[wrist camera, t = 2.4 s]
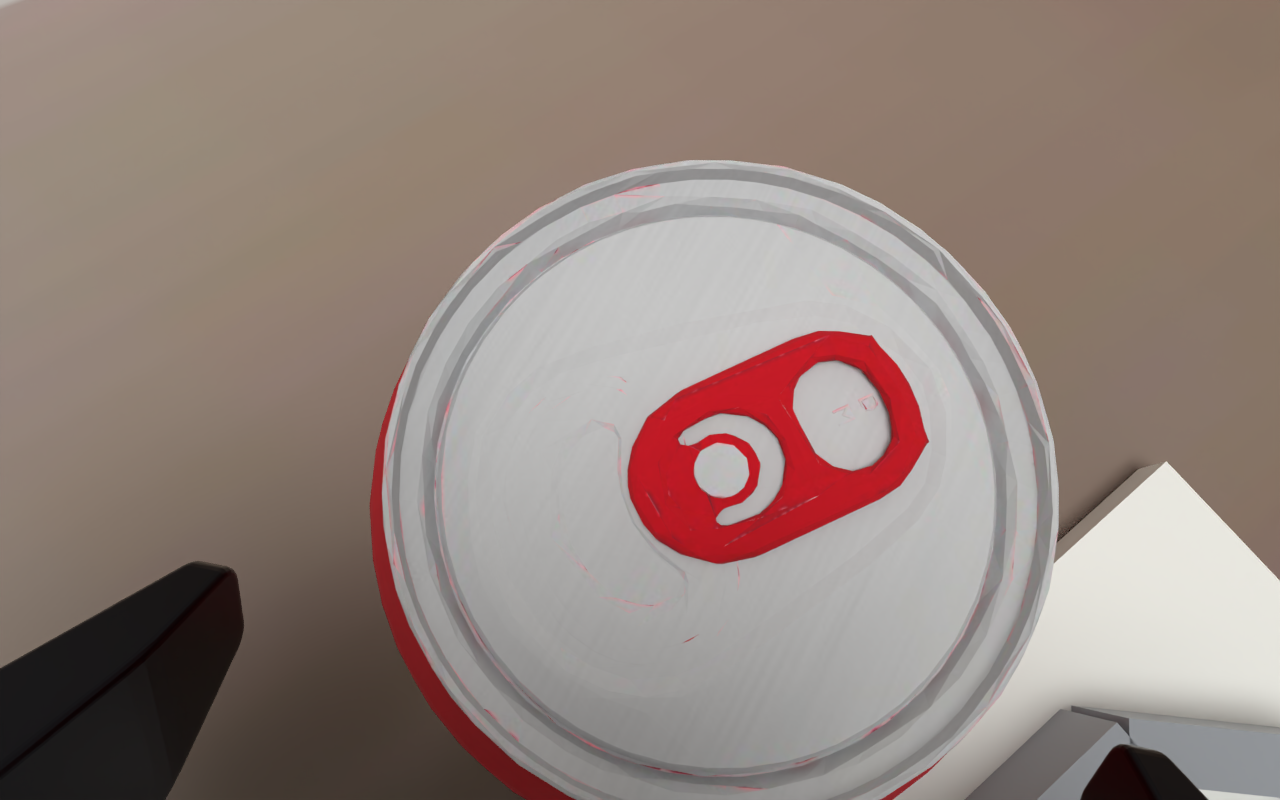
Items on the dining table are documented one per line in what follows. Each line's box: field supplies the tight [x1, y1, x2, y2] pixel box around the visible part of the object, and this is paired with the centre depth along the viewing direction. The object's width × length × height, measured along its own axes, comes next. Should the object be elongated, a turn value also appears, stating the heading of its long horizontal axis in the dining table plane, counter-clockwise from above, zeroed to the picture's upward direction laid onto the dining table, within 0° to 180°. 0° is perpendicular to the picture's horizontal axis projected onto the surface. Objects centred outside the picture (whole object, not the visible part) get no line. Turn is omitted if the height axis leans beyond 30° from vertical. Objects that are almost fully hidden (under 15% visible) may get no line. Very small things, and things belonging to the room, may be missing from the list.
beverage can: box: [370, 160, 1059, 800], centre depth 13 cm, size 6×6×12 cm
